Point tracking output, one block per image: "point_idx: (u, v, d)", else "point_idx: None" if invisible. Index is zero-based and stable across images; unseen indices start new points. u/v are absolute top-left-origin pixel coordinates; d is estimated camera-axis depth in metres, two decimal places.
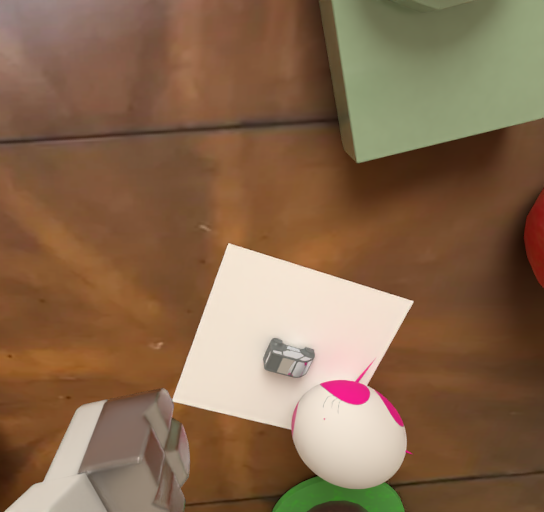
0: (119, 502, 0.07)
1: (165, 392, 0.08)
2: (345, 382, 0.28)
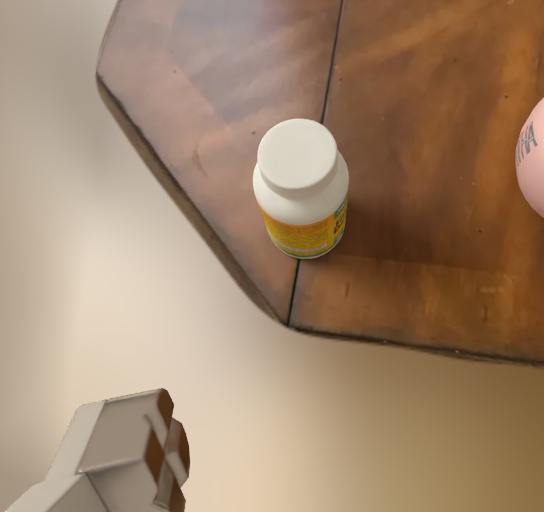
0: (119, 502, 0.07)
1: (165, 392, 0.08)
2: None
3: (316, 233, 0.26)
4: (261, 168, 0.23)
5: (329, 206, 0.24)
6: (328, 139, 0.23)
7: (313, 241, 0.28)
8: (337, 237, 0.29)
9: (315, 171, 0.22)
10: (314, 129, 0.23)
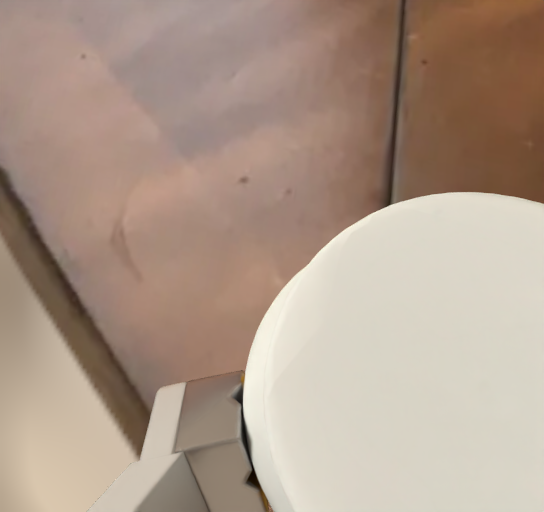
0: (213, 482, 0.07)
1: (244, 375, 0.08)
2: None
3: None
4: (289, 491, 0.04)
5: None
6: None
7: None
8: None
9: None
10: None
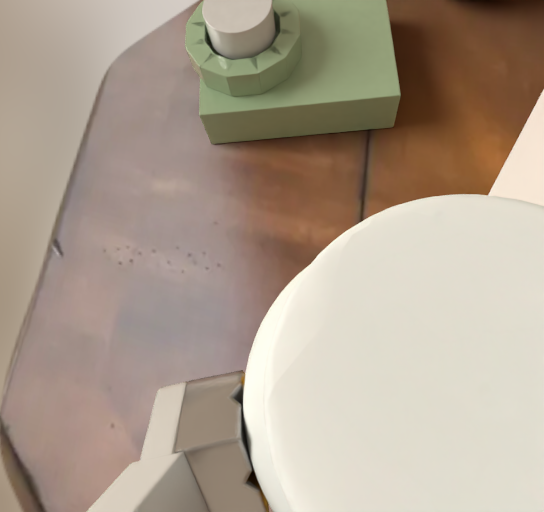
0: (213, 482, 0.07)
1: (244, 375, 0.08)
2: None
3: None
4: (289, 493, 0.04)
5: None
6: None
7: None
8: None
9: None
10: None
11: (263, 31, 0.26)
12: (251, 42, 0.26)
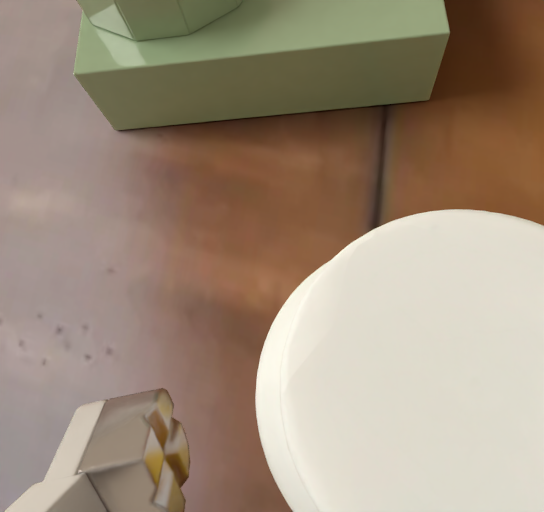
0: (119, 502, 0.07)
1: (165, 393, 0.08)
2: None
3: None
4: (303, 475, 0.05)
5: None
6: None
7: None
8: None
9: None
10: None
11: None
12: None
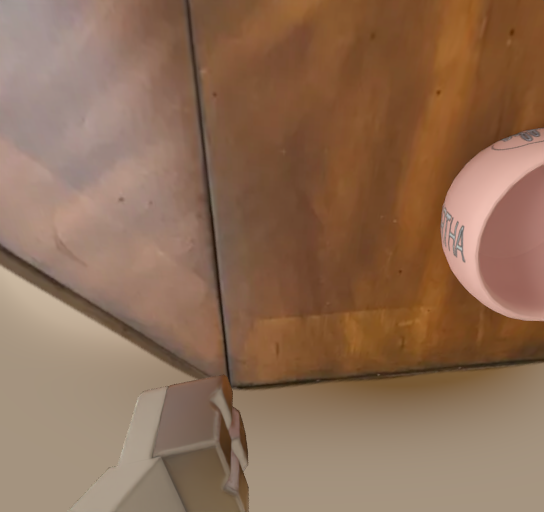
0: (191, 487, 0.07)
1: (226, 379, 0.08)
2: None
3: None
4: None
5: None
6: None
7: None
8: None
9: None
10: None
11: None
12: None
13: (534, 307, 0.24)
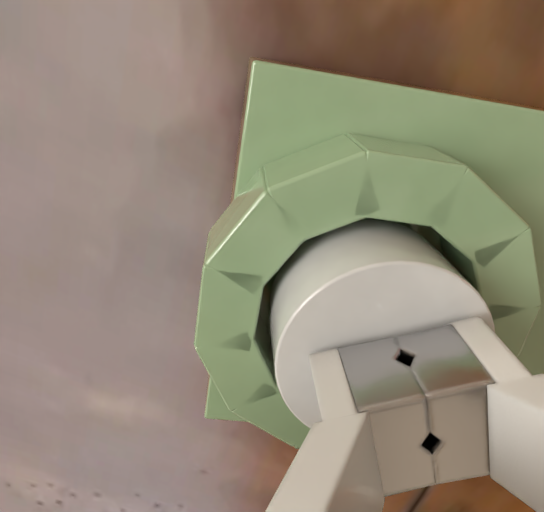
0: (389, 444, 0.07)
1: (393, 342, 0.08)
2: None
3: None
4: None
5: None
6: None
7: None
8: None
9: None
10: None
11: None
12: None
13: None
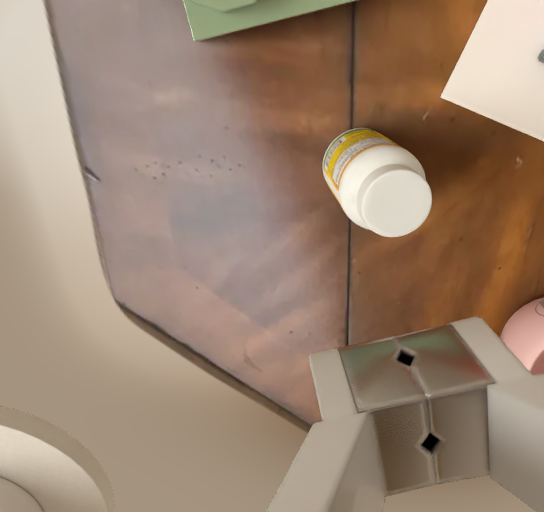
0: (389, 444, 0.07)
1: (393, 341, 0.08)
2: None
3: None
4: (368, 224, 0.26)
5: None
6: (424, 187, 0.25)
7: None
8: None
9: (415, 219, 0.26)
10: (411, 180, 0.25)
11: None
12: None
13: None
